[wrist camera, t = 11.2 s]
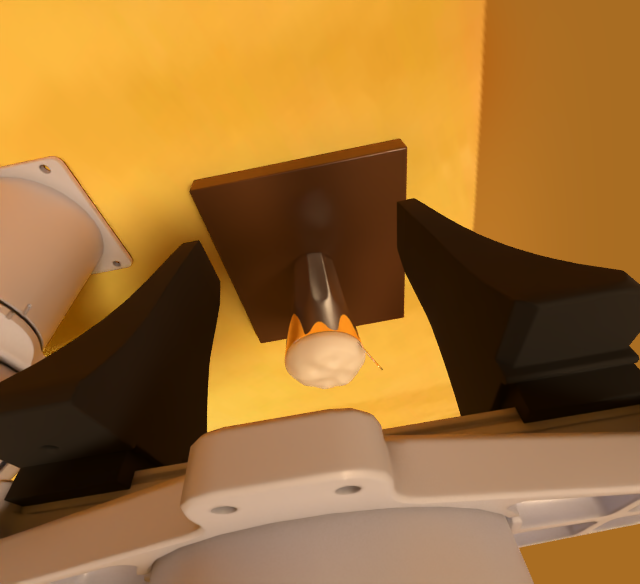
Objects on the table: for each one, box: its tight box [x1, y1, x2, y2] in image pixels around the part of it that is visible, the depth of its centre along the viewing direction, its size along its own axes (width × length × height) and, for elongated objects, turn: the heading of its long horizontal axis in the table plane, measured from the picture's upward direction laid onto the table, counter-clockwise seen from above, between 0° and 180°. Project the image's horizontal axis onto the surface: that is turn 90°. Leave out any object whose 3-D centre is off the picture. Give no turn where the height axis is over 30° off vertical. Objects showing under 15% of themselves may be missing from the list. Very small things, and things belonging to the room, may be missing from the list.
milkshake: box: [285, 253, 383, 389], centre depth 21 cm, size 4×5×10 cm
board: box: [190, 139, 407, 343], centre depth 25 cm, size 13×15×2 cm
